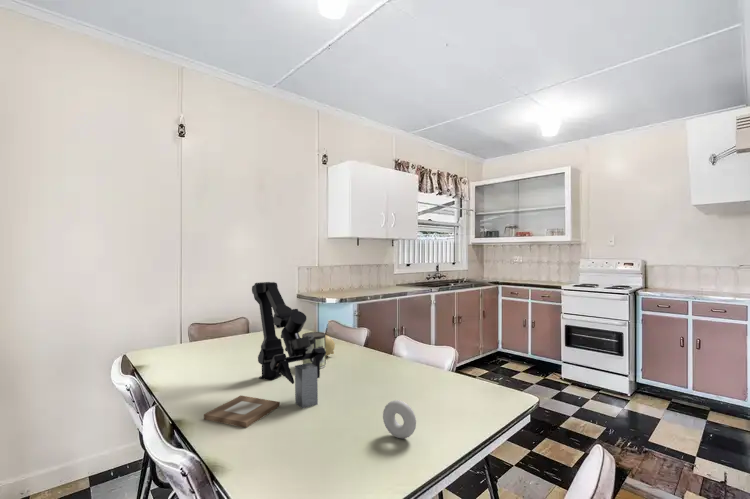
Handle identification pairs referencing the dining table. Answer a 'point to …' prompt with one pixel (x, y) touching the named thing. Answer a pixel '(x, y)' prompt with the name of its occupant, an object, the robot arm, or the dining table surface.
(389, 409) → the donut
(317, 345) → the coffee can
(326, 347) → the toy pig
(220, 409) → the walnut board
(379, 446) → the dining table surface
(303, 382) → the gray block
